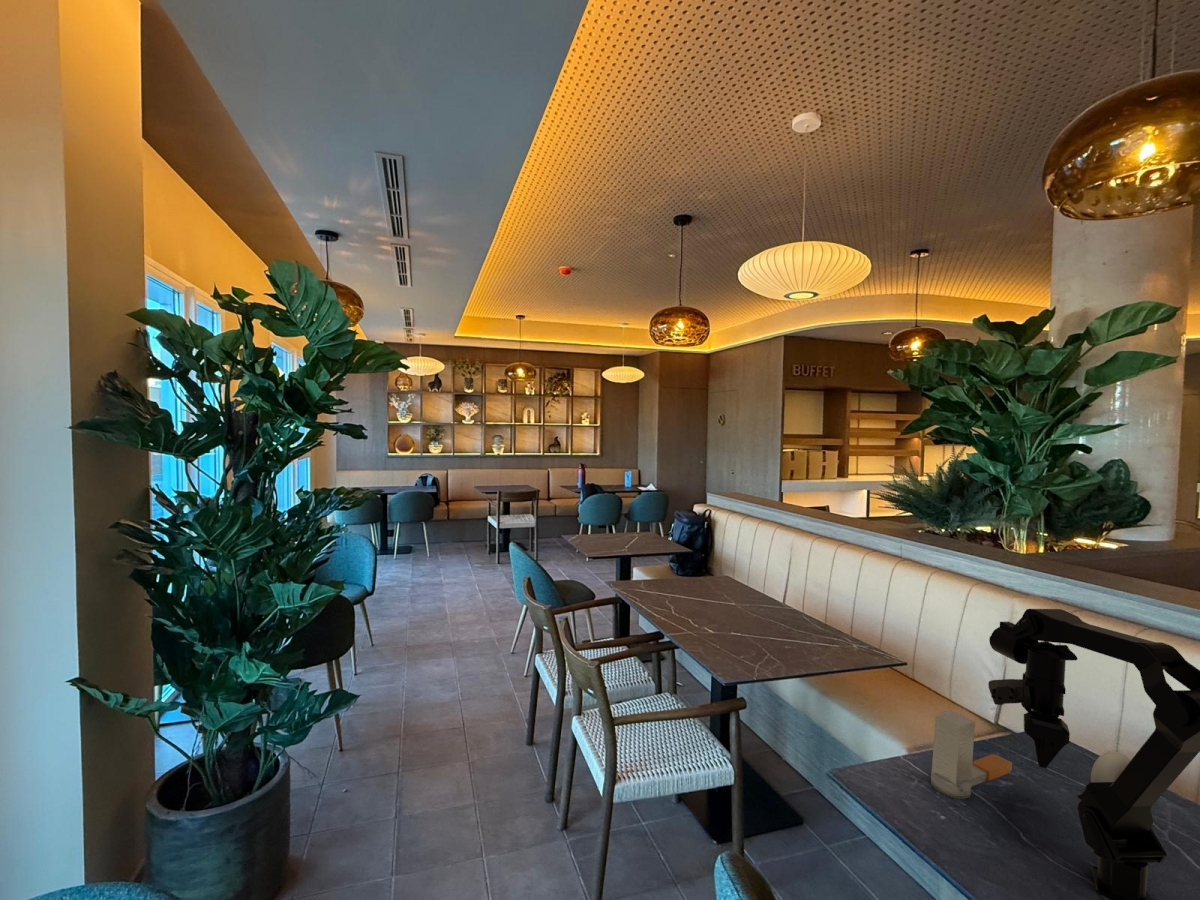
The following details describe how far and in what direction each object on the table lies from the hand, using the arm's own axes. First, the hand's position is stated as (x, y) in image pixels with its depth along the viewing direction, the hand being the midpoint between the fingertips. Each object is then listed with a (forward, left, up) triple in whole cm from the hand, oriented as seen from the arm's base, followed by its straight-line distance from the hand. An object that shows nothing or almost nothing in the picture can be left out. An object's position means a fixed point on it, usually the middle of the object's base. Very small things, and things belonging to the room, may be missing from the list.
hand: (1040, 755), depth 104 cm
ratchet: (+9, +10, -13) cm, 19 cm away
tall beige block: (+2, +14, -10) cm, 18 cm away
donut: (+18, -13, -13) cm, 26 cm away
